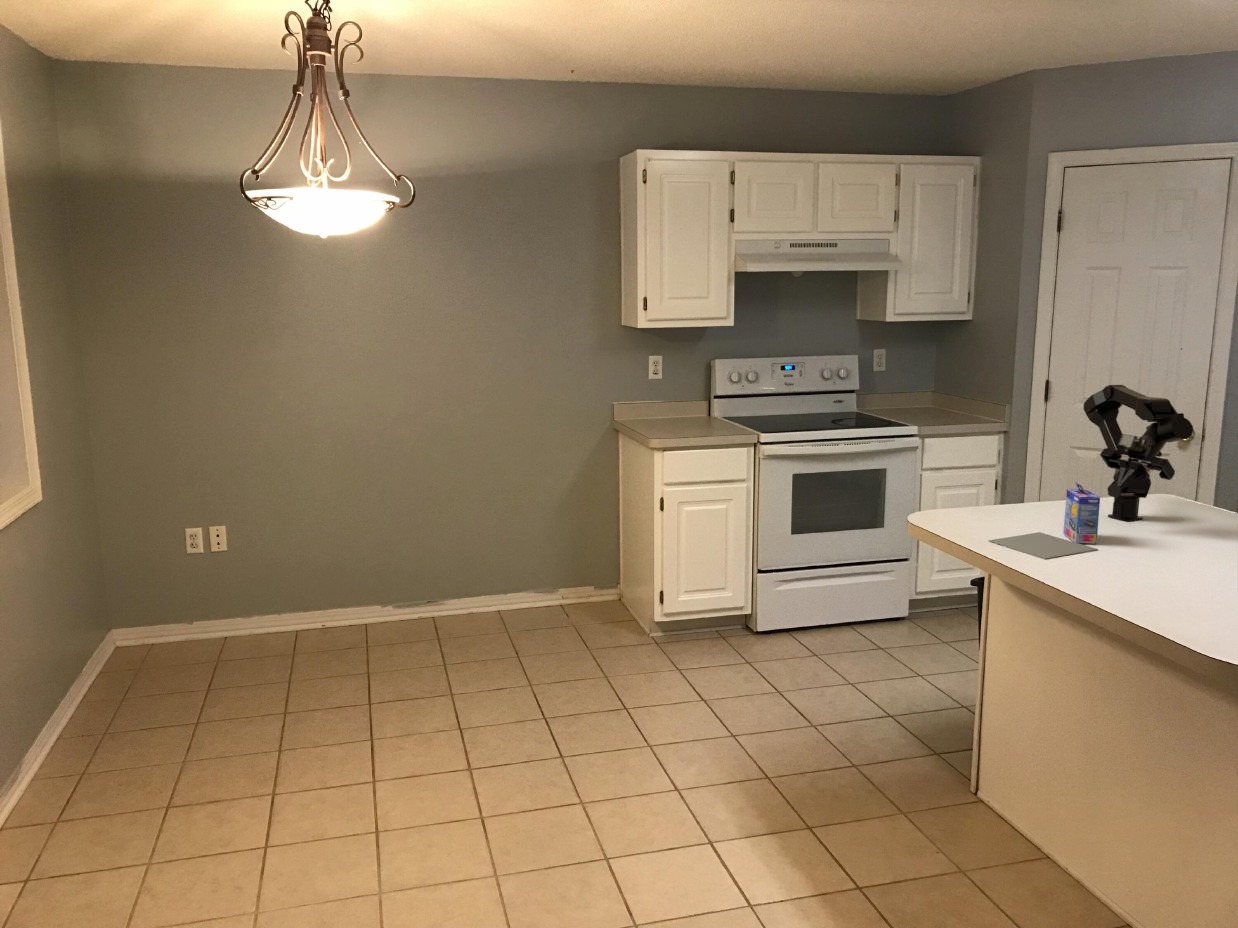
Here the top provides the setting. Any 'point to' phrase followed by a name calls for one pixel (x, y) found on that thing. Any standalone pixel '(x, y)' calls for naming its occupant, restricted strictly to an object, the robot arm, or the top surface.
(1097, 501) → the ink cartridge box
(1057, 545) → the mat
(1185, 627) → the top surface
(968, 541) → the top surface
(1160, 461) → the robot arm
